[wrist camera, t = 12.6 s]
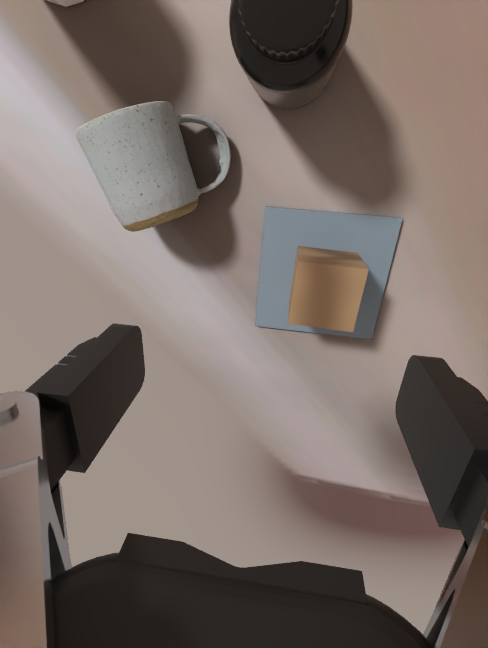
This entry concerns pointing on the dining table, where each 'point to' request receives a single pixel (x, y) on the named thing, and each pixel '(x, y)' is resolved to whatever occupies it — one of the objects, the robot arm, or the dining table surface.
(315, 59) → the supplement bottle
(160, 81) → the dining table surface
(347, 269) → the walnut block
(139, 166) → the ceramic mug
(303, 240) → the slate mat
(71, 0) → the white cup
